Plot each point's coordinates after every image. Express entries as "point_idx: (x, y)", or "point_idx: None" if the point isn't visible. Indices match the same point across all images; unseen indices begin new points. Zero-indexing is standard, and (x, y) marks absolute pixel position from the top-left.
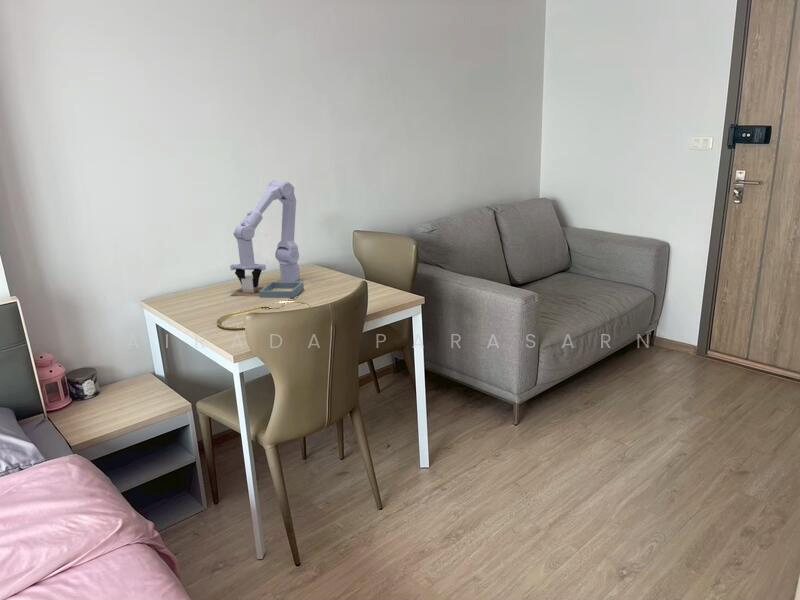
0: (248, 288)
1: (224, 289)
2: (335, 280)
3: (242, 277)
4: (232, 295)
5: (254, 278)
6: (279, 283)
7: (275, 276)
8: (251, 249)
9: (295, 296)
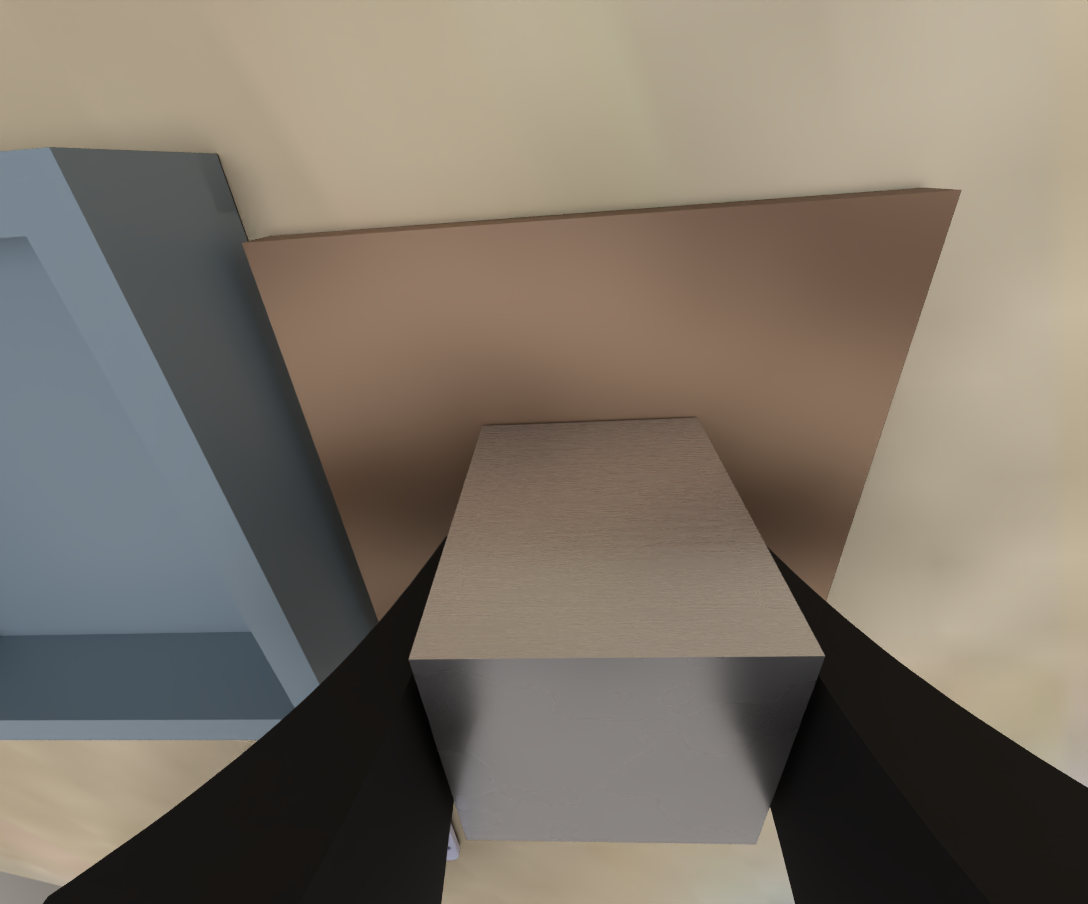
0: (580, 470)
1: (1058, 627)
2: (32, 831)
3: (813, 750)
4: (886, 240)
5: (367, 695)
6: (208, 707)
7: (592, 888)
8: None
9: None
